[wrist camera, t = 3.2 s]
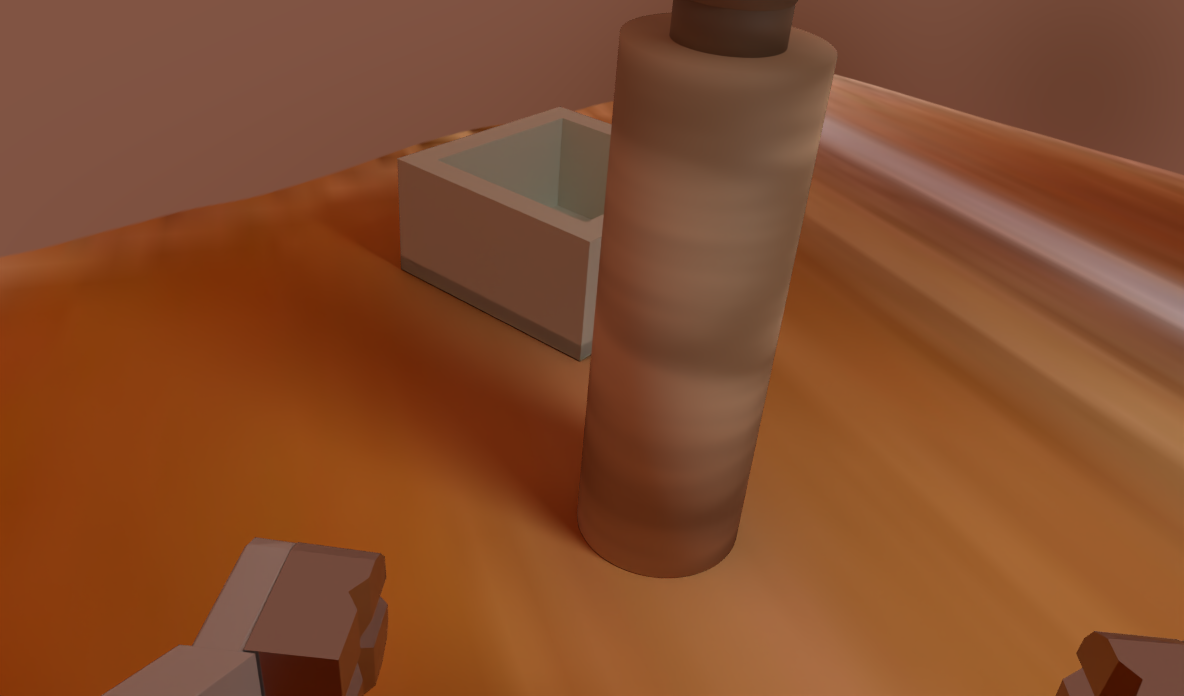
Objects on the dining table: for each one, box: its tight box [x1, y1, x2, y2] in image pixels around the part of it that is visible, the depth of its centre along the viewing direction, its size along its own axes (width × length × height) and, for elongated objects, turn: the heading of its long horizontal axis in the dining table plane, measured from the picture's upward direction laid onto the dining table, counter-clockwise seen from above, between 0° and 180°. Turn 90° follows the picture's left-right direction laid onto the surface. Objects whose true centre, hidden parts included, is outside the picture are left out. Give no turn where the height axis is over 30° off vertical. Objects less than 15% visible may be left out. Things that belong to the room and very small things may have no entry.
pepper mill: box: [577, 0, 837, 578], centre depth 22 cm, size 4×4×16 cm
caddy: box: [397, 107, 612, 361], centre depth 37 cm, size 9×9×4 cm
